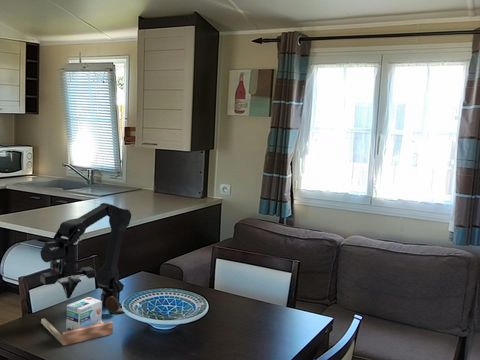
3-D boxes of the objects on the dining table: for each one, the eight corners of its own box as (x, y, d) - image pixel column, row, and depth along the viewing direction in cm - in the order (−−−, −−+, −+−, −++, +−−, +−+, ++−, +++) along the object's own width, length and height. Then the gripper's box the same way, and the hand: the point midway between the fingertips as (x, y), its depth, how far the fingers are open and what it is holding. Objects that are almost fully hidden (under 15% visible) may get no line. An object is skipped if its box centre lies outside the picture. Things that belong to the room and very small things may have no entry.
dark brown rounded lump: (129, 310, 193) (130, 292, 192) (116, 317, 185) (117, 298, 185) (112, 306, 196) (113, 288, 195) (99, 312, 188) (100, 294, 188)
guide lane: (87, 313, 187) (88, 303, 186) (112, 333, 171) (113, 322, 170) (41, 323, 175) (41, 312, 175) (63, 345, 159) (63, 334, 159)
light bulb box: (79, 340, 164) (80, 309, 163) (64, 335, 167) (65, 305, 166) (101, 329, 174) (102, 300, 172) (87, 324, 177) (88, 296, 175)
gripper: (85, 248, 188) (84, 287, 190) (35, 254, 176) (34, 296, 178) (97, 255, 180) (96, 296, 181) (46, 262, 168) (45, 305, 169)
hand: (68, 298), depth 178 cm, fingers closed
